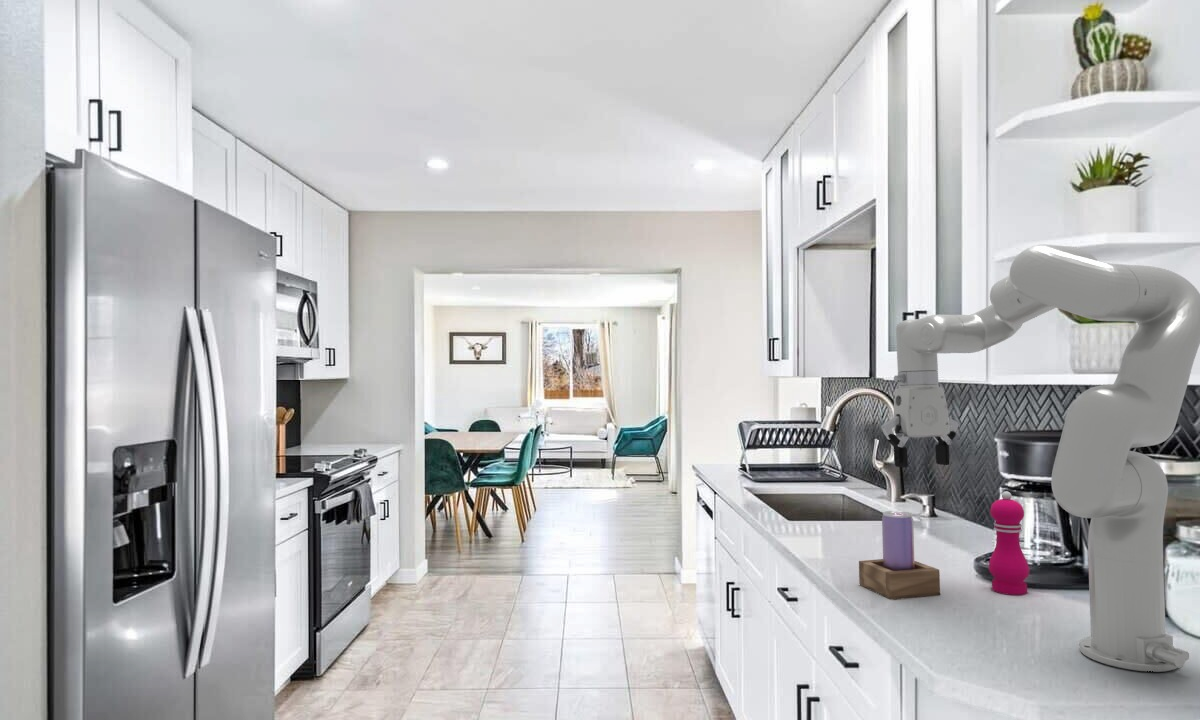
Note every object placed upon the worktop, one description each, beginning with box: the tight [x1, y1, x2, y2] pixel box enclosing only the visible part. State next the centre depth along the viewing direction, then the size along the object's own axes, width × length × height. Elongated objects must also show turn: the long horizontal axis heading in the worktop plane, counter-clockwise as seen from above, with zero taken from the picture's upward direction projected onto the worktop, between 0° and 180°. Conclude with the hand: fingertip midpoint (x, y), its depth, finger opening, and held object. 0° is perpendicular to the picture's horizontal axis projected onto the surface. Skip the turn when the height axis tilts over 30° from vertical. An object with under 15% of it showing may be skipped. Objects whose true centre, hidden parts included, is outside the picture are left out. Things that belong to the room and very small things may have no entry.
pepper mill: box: [988, 491, 1030, 596], centre depth 153 cm, size 7×7×20 cm
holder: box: [858, 558, 941, 600], centre depth 155 cm, size 11×11×5 cm
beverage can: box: [881, 510, 915, 571], centre depth 155 cm, size 6×6×15 cm
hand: (922, 465), depth 152 cm, fingers open, 9 cm apart
